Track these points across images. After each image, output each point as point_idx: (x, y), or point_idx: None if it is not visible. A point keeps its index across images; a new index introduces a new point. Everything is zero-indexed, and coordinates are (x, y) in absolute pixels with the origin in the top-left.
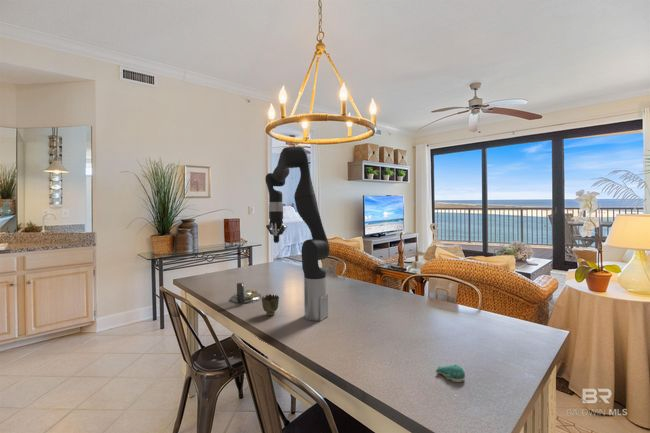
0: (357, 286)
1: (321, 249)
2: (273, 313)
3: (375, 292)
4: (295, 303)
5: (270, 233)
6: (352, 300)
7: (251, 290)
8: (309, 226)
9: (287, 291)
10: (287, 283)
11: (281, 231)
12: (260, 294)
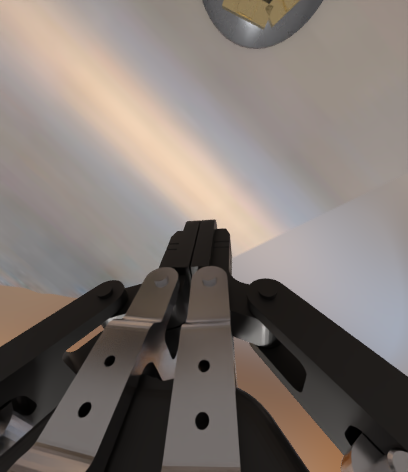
0: None
1: None
2: None
3: (49, 267)
4: (76, 75)
5: (282, 289)
6: (22, 200)
7: (282, 16)
8: None
9: (199, 161)
10: (262, 225)
11: (37, 332)
12: (233, 40)
